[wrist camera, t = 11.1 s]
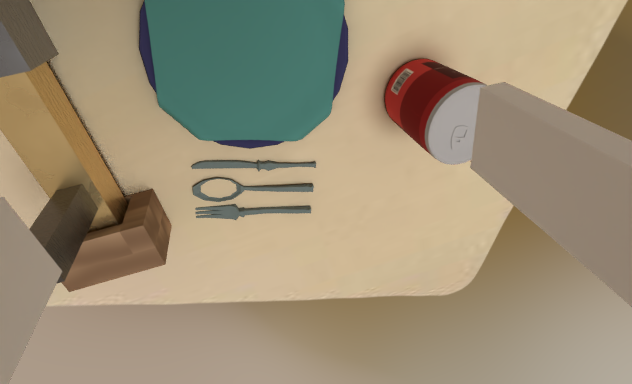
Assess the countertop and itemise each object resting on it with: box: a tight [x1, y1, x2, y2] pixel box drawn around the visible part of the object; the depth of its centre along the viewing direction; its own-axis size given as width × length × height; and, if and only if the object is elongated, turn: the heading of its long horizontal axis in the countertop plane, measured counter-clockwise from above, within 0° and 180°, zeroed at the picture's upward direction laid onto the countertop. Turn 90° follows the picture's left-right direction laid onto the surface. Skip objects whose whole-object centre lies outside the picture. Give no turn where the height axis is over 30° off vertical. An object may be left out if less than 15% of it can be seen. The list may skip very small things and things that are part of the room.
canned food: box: [385, 59, 488, 165], centre depth 38 cm, size 8×8×11 cm
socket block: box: [62, 189, 172, 292], centre depth 40 cm, size 6×10×7 cm, turn 100°
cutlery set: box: [139, 0, 348, 220], centre depth 39 cm, size 20×30×2 cm, turn 174°
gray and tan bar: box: [0, 62, 129, 283], centre depth 30 cm, size 22×4×14 cm, turn 10°
